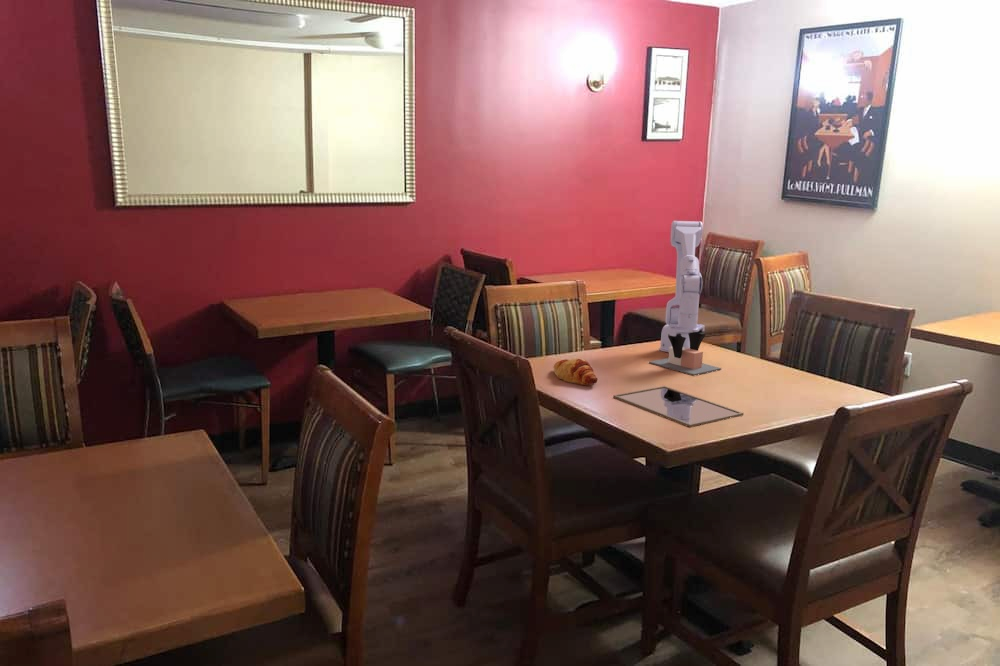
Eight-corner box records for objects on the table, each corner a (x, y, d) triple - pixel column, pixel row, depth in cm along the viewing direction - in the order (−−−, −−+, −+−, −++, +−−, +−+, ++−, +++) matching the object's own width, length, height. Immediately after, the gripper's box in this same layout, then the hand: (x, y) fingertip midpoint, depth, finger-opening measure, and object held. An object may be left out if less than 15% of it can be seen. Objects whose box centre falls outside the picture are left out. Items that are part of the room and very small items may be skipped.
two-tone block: (693, 369, 240) (694, 353, 239) (668, 362, 247) (669, 347, 246) (701, 367, 242) (702, 351, 241) (676, 360, 250) (677, 345, 249)
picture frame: (743, 416, 198) (664, 389, 221) (743, 413, 198) (664, 386, 221) (689, 429, 188) (613, 398, 211) (690, 425, 188) (613, 395, 210)
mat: (649, 363, 248) (649, 361, 248) (676, 357, 256) (676, 356, 256) (694, 375, 234) (694, 374, 234) (721, 369, 242) (721, 368, 242)
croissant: (547, 382, 236) (537, 361, 233) (571, 364, 240) (562, 343, 237) (587, 400, 218) (577, 377, 215) (613, 380, 222) (604, 357, 218)
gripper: (683, 317, 234) (680, 361, 237) (713, 313, 242) (710, 355, 245) (665, 314, 239) (662, 356, 242) (695, 309, 248) (692, 351, 251)
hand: (685, 355), depth 244 cm, fingers open, 7 cm apart
